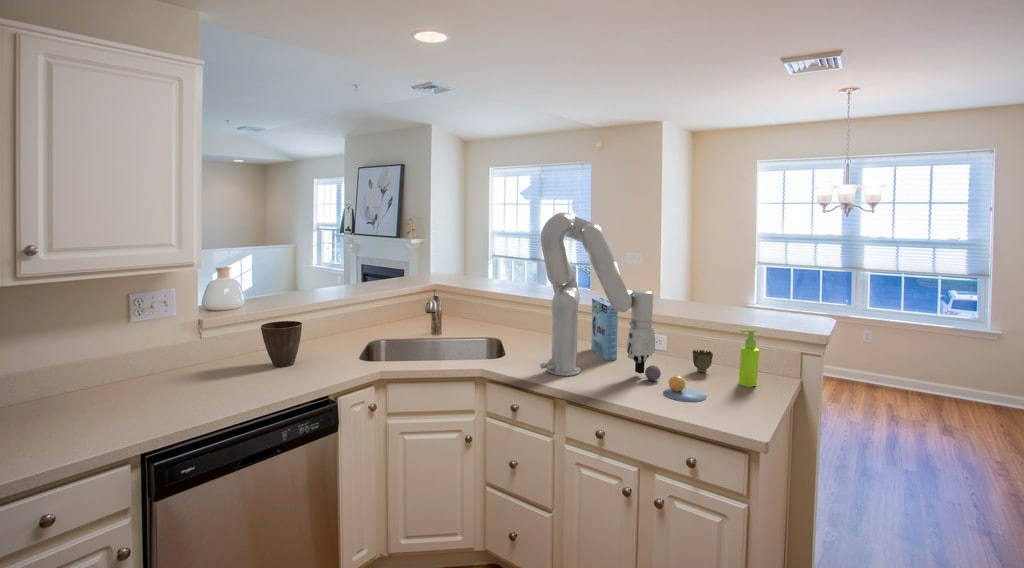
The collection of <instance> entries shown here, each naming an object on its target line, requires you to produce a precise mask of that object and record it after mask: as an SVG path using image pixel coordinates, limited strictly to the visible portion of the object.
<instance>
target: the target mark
mask: <svg viewBox="0 0 1024 568" xmlns="http://www.w3.org/2000/svg"><path fill="white" fill-rule="evenodd" d="M662 392H663V393H664V394H663V395H664V397H666V396H667V397H666V398H669V399H671V400H674V401H677V402H686V403H698V402H704V401H705V400H706V399H707V398H708V396H707V394H706V393H704V392H703V391H700V390H697V389H694V388H689V387H685V388H684V389H683V390H682V391H680V392H675V391H673V390H672V389H671V388H670V387H669V388H666V389H664V390H663V391H662Z"/></svg>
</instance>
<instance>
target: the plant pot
mask: <svg viewBox="0 0 1024 568" xmlns="http://www.w3.org/2000/svg"><path fill="white" fill-rule="evenodd" d="M302 326H303V322H301V321H298V320H297V321H296V320H281V321H280V320H279V321H272V322H267V323H264V324H261V325H260V329H261V330H260V331H261V335H262V340H263V343H264V347H265V349H266V351H267V354H268V356H269V360H270V361H271V363H272V365H273V367H276V368H284V367H290V366H293V365H294V364H295V361H296V359H297V354H298V352H299V347H300V343H301V337H302Z"/></svg>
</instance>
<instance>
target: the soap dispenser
mask: <svg viewBox="0 0 1024 568" xmlns="http://www.w3.org/2000/svg"><path fill="white" fill-rule="evenodd" d="M738 331H739V332H741V334H742V333H743V334H744V333H748V335H747V336H748V337H746V338H745V343H744V346H741V347H740V360H739V361H740V362H739V377H738V384H739V385H740V386H742V387H745V386H747V388H754V387H753V386H756V385H758V372H759V371H758V370H759V360H760V359H759V357H760V349H759V348H757V347H756V346H757V344H756V343H757V339H756V338H755V335H754V334H755V333H757V330H756V329H753V328H752V329H751V328H750V329H749V328H745V329H740V330H738ZM756 387H757V386H756Z"/></svg>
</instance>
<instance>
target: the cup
mask: <svg viewBox="0 0 1024 568" xmlns="http://www.w3.org/2000/svg"><path fill="white" fill-rule="evenodd" d="M713 355H714V353H713V352H712V351H711V350H709V351H708V350H704V349H700V350H698V349H696V350H695V349H693V350H692V363H693V365H694V367H695V368H696V372H698V373H699V374H706V373H707V371H708V369H709V368H710V367H711V365H712V361H713V357H714V356H713Z"/></svg>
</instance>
